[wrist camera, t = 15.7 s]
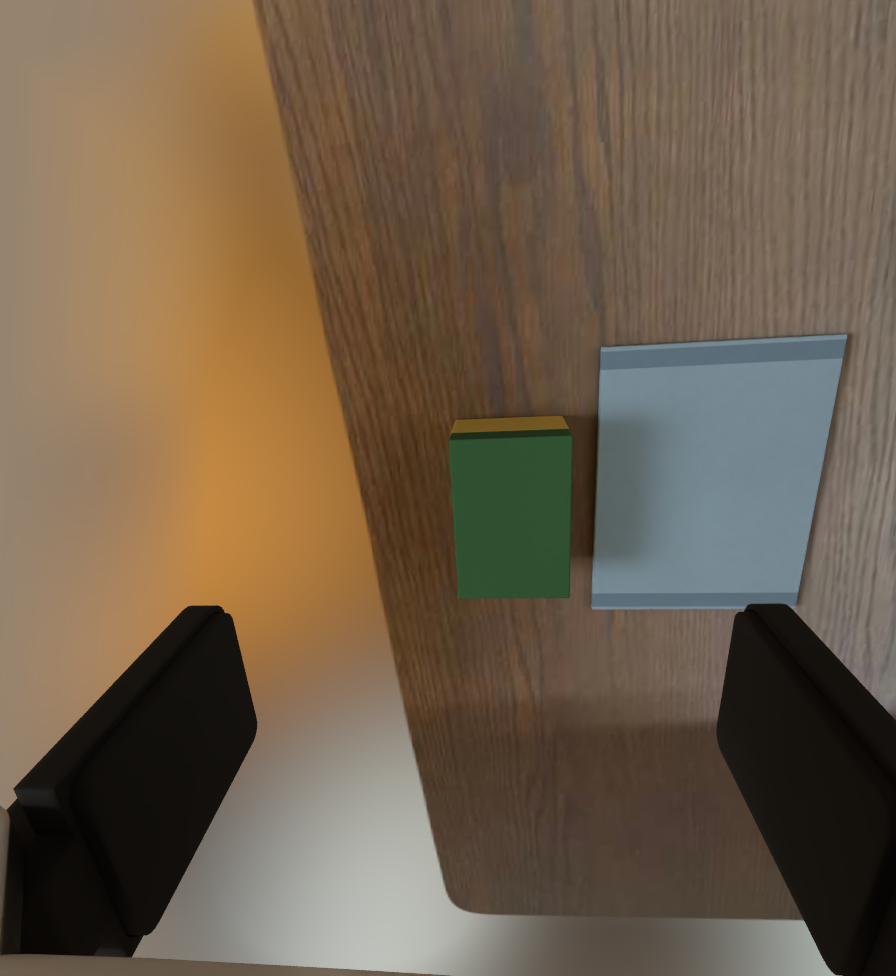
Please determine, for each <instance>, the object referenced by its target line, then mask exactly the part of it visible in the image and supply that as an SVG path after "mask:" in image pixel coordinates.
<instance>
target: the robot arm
mask: <svg viewBox="0 0 896 976" xmlns="http://www.w3.org/2000/svg"><path fill="white" fill-rule="evenodd" d="M256 731H257V719H256V714H255V710H254V706H253V702H252V698H251V693H250V689H249V685H248V681H247V677H246V672H245V668H244V664H243V660H242V656H241V651H240V647H239V643H238V640H237V635H236V630H235V626H234V622H233V619H232V617H231V615H230V614H228V613H225V612H224V610H223V609H222V607H220V606H188V607H187V608H185V609H184V610H183V611H182V612H181V613H180V614H179V615H178V616H177V617H176V618H175V619H174V620H173V621H172V622H171V624H170V625H169V626H168V627H167V628H166V629H165V630H164V631H163V632H162V633H161V634H160V635H159V636H158V637H157V638H156V639H155V640H154V641H153V643H152V644H151V645H150V646H149V647H148V648H147V649H146V650H145V651H144V652H143V653H142V654H141V655H140V656H139V657H138V658H137V659H136V660H135V661H134V662H133V664H132V665H131V666H130V667H129V668H128V669H127V670H126V671H125V672H124V673H123V674H122V675H121V676H120V677H119V678H118V679H117V680H116V681H115V682H114V683H113V685H112V686H111V687H110V688H109V689H108V690H107V691H106V692H105V693H104V694H103V695H102V696H101V697H100V698H99V699H98V700H97V701H96V703H94V704H93V706H92V707H91V708H90V709H89V710H88V711H87V712H86V713H85V714H84V715H83V716H82V717H81V718H80V719H79V720H78V721H77V723H75V724H74V726H73V727H72V728H71V729H70V730H69V731H68V732H67V733H66V734H65V735H64V736H63V737H62V738H61V739H60V740H59V741H58V742H57V744H55V746H54V747H53V748H52V749H51V750H50V751H49V752H48V753H47V754H46V755H45V756H44V757H43V758H42V759H41V760H40V762H38V763H37V764H36V765H35V767H34V768H33V769H32V770H31V771H30V772H29V773H28V774H27V775H26V776H25V777H24V778H23V779H22V780H21V781H20V782H19V783H18V784H17V785H16V787H15V788H14V791H15V793H16V796H17V799H16V801H15V802H14V803H13V804H12V805H11V806H10V807H9V808H8V809H7V810H5V809H4V808H2V807H1V806H0V976H447V975H431V974H416V973H399V972H383V971H366V970H350V969H333V968H316V967H298V966H280V965H261V964H243V963H225V962H207V961H189V960H171V959H153V958H132V956H133V954H134V952H135V950H136V948H137V946H138V944H139V943H140V941H141V939H142V937H143V935H148V934H150V933H151V932H152V931H153V930H154V929H155V928H156V926H157V924H158V923H159V921H160V919H161V917H162V915H163V913H164V911H165V910H166V908H167V906H168V904H169V902H170V900H171V898H172V896H173V894H174V892H175V890H176V889H177V887H178V885H179V883H180V881H181V879H182V877H183V875H184V873H185V871H186V869H187V867H188V865H189V864H190V862H191V860H192V858H193V856H194V854H195V852H196V850H197V848H198V846H199V844H200V843H201V841H202V839H203V837H204V835H205V833H206V831H207V829H208V827H209V825H210V824H211V822H212V820H213V818H214V815H215V814H216V812H217V810H218V808H219V806H220V804H221V802H222V800H223V798H224V797H225V795H226V793H227V791H228V789H229V787H230V785H231V783H232V781H233V780H234V777H235V776H236V774H237V772H238V770H239V768H240V766H241V764H242V762H243V760H244V758H245V757H246V754H247V753H248V751H249V749H250V747H251V745H252V743H253V741H254V739H255V735H256ZM716 732H717V740H718V744H719V748H720V750H721V753H722V755H723V757H724V759H725V761H726V763H727V765H728V767H729V769H730V771H731V773H732V775H733V777H734V779H735V781H736V783H737V785H738V787H739V789H740V791H741V793H742V795H743V797H744V799H745V801H746V803H747V805H748V807H749V809H750V811H751V813H752V816H753V818H754V820H755V822H756V824H757V826H758V828H759V830H760V832H761V834H762V836H763V838H764V840H765V842H766V844H767V846H768V848H769V850H770V852H771V854H772V856H773V858H774V860H775V862H776V864H777V866H778V868H779V870H780V872H781V874H782V876H783V878H784V880H785V883H786V885H787V887H788V889H789V891H790V893H791V895H792V897H793V899H794V901H795V903H796V905H797V907H798V909H799V911H800V913H801V915H802V917H803V919H804V921H805V923H806V925H807V927H808V929H809V931H810V933H811V935H812V937H813V939H814V941H815V943H816V945H817V947H818V950H819V951H820V954H821V956H822V958H823V959H824V961H825V963H826V965H827V966H828V968H829V969H830V970H831V971H832V972H833V973H834V974H835V975H842V976H896V720H895V719H894V718H893V717H892V716H891V715H890V714H889V713H888V712H887V711H886V710H885V709H884V707H883V706H882V705H881V704H880V703H879V702H878V701H877V700H876V699H875V698H874V697H873V696H872V695H871V693H870V692H869V691H868V690H867V689H866V688H865V687H864V686H863V685H862V684H861V683H860V682H859V681H858V679H857V678H856V677H855V676H854V675H853V674H852V673H851V672H850V671H849V670H848V669H847V668H846V667H845V666H844V664H843V663H842V662H841V661H840V660H839V659H838V658H837V657H836V656H835V655H834V654H833V653H832V652H831V650H830V649H829V648H828V647H827V646H826V645H825V644H824V643H823V642H822V641H821V640H820V639H819V638H818V636H817V635H816V634H815V633H814V632H813V631H812V630H811V629H810V628H809V627H808V626H807V625H806V624H805V622H804V621H803V620H802V619H801V618H800V617H799V616H798V615H797V614H796V613H795V612H794V611H793V610H792V608H791V607H789V606H788V605H787V604H783V603H771V604H749V605H747V607H746V608H745V611H744V612H738V613H737V614H736V615H735V619H734V624H733V630H732V636H731V643H730V649H729V655H728V661H727V667H726V673H725V679H724V685H723V692H722V698H721V704H720V710H719V716H718V722H717V730H716Z"/></svg>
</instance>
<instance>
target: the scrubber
mask: <svg viewBox="0 0 896 976" xmlns="http://www.w3.org/2000/svg"><path fill="white" fill-rule="evenodd" d="M572 451H573V436H572V434H571V432H570V430H569V428H568V426H567V424H566V422H565V420H564V418H563V416H538V417H513V418H488V419H463V420H456V421H455V424H454V426H453V429H452V432H451V436H450V439H449V456H450V472H451V488H452V504H453V519H454V535H455V551H456V567H457V583H458V597H459V598H569V597H570V550H571V500H572Z"/></svg>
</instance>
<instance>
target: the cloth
mask: <svg viewBox="0 0 896 976" xmlns="http://www.w3.org/2000/svg"><path fill="white" fill-rule="evenodd" d="M846 341H847V334H831V335H812V336H793V337H775V338H756V339H737V340H719V341H700V342H681V343H663V344H644V345H625V346H607V347H601V353H600V381H599V408H598V435H597V462H596V489H595V516H594V543H593V570H592V596H591V607H592V609H745V608H746V607H747V605H749V604H771V603H783V604H787V605H788V606H789V607H791V608H792V609H795V607H796V602H797V597H798V591H799V586H800V581H801V575H802V570H803V565H804V560H805V555H806V549H807V544H808V539H809V534H810V528H811V523H812V518H813V513H814V508H815V502H816V497H817V492H818V487H819V482H820V476H821V471H822V466H823V461H824V455H825V450H826V445H827V440H828V435H829V429H830V424H831V419H832V414H833V408H834V403H835V398H836V393H837V388H838V382H839V377H840V372H841V367H842V362H843V357H844V352H845V346H846Z"/></svg>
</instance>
